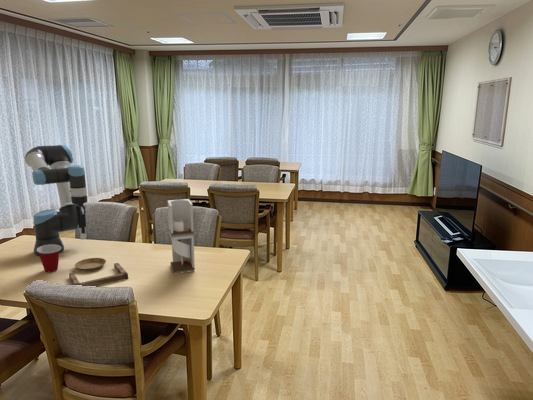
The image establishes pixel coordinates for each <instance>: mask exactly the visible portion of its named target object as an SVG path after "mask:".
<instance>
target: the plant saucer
mask: <svg viewBox="0 0 533 400" xmlns="http://www.w3.org/2000/svg"><path fill="white" fill-rule="evenodd" d="M106 262H107V260H106V259H105V258H103V257H90V258H84V259H82V260H79V261H78V262H76V263H75V264H74V267H75V268H76V269H77V270H79V271H80V272H86V273H87V272H93V271H97V270H100V269H101V268H103V267H104V265H105V264H106Z"/></svg>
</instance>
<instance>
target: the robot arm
mask: <svg viewBox="0 0 533 400" xmlns="http://www.w3.org/2000/svg"><path fill="white" fill-rule="evenodd" d="M24 160H25V163H26V165H27V166H28V167H30V168H31V170H32V172H31V173H32V174H31V176H32V177H31V178H32V181H33V184H34V185H35V186H36V185H41V186H44V185H52V184H56V189H57V192H58V198H59V202H60V207H59V209H58V210H59V211H58V210H56V209H54V208H52V209H46V210H45V209H44V210H41V211H39V212H36V213H35V214H34V216H32V219H33V220H32V221H33V223H32V224H33V226H34V227H33V228H34V236H35V241H34V242H35V244H34V247H33V254H34V255H35V256H39V253H38V252H37V250H36V249H37V248H38V247H40V246H44V245H59V246H61V249H60V253H62V252H64V251H65V244H64V243H63V240H62V239H61V237H60V233H63V232H69V231H75V230H79V236H80V238H79V239H80V240H86V239H87V231H86V230H87V229H86V228H87V212H86V206H85V205H84V204H86V203H88V195H87V193H88V190H87V184H86V181H87V180H86V171H85V167H84V166H83V165H82V164H81V165H80V164H79V165H78V164H77V165H76V164H75V165H74V164H73V162H74V159H73V153H72V150H71V149H70V147H69V146H68V145H66V144H63V145H62V144H57V145H55V144H53V145H39V146H38V145H37V146H35V147H32V148H31V149H29V150H28V151H27V152H26V154H25V156H24ZM72 164H73V165H72ZM39 257H40V256H39Z"/></svg>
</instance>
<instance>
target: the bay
mask: <svg viewBox="0 0 533 400" xmlns="http://www.w3.org/2000/svg"><path fill="white" fill-rule="evenodd" d="M113 266H114V267H113V268H114V270H115V271H117V274H113V275H109V276H104V277H100V278H96V279H91V280H87V281H82V282H80V281H79V279H78V278H77V276H76V274H75V273H74V272H68V278H69V280H70V281H71V284H72V286H73V285H82V286H95V287H98V286H103V285H106V284H110V283H116V282H120V281H123V280H127V279H129V273H128V272H127V271H126V270H125V269H124V268H123V266H122V265H121V264H120V263H119V262H114V263H113Z"/></svg>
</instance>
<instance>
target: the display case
mask: <svg viewBox="0 0 533 400" xmlns="http://www.w3.org/2000/svg"><path fill="white" fill-rule="evenodd" d="M193 213H194V209H193V202H192V201H191V200H190V199H189V198H184V199H172V200H171V199H169V200H167V216H168V217H167V219H168V234H169V236H170V239H171V251H172V252H171V253H172V261H170V267H171V271H172V274H173V275H175V274H174V273H178V274H182V273H181V272H186V273H189V272H188V271H194V270H195V269H196V268H195V266H196V265H195V240H194V239H195V236H194V214H193ZM195 271H196V270H195ZM195 271H194V272H195Z"/></svg>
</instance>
